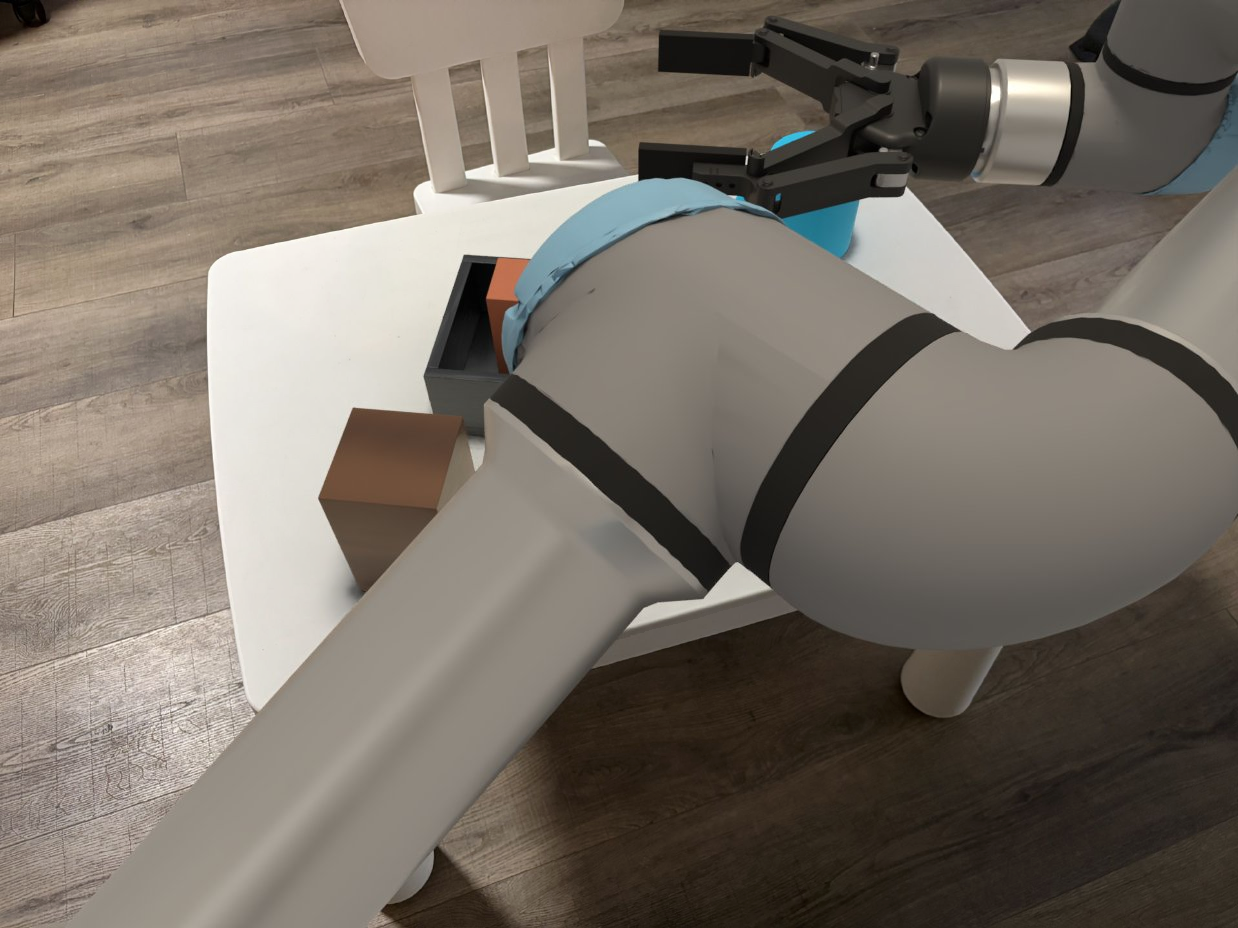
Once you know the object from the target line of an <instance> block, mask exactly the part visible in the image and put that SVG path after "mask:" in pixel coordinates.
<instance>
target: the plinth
mask: <svg viewBox="0 0 1238 928" xmlns="http://www.w3.org/2000/svg"><path fill="white" fill-rule="evenodd" d="M344 426H345V427H344V428H343V432H342V435H341V437H340V439H339V442H338V444H337V446H336V450H335V452H334V455H333V458H332V460H331V463H330V465H329V468H328V470H327V473H326V476H325V478H324V481H323V484H322V486H321V489H320V491H319V494H318V497H317V500H318V502H319V504H320V507H321V509H322V511H323V513H324V515H325V517H326V519H327V522H328V524H329V526H330V529H331V530H332V533H333V535H334V537H335V539H336V541H337V543H338V545H339V548H340V550H341V552H342V554H343V556H344V559H345V561H346V563H347V564H348V567H349V569H350V571H351V574H352V576H353V578H354V580H355V583H356V585H357V587H358V589H359V591H362V592H367V591H368V590H369V589H370V588H371V587H372V586H373V585H374V583H375V582H376V581H377V580H378V579H379V578H380V577H381V576H382V575H383V573H384V572H385V571H386V570H387V569H388V568H389V567H390V566H391V565H392V563H393V562H394V561H395V560H396V559H397V558H398V557H399V556H400V555H401V553H402V552H403V551H404V550H405V549H406V548H407V547H408V546H409V545H410V543H411V542H412V541H413V540H414V539H415V538H416V537H417V536H418V535H419V533H420V532H421V531H422V530H423V529H424V528H425V527H426V526H427V525H428V523H429V522H430V521H431V520H432V519H433V518H434V517H435V516H436V515H437V514H438V512H439V511H440V510H441V509H442V508H443V507H444V506H445V505H446V504H447V502H448V501H449V500H450V499H451V498H452V497H453V496H454V495H455V494H456V492H457V491H458V490H459V489H460V488H461V487H462V486H463V485H464V484H465V482H466V481H467V480H468V479H469V478H470V477H471V476H472V475H473V474H474V472H475V471H476V470H475V464H474V461H473V456H472V451H471V448H470V442H469V438H468V435H467V433H466V429H465V424H464V420H463V417H462V416H452V415H440V414H433V413H427V412H414V411H401V410H389V409H378V408H377V409H376V408H366V407H365V408H364V407H352V408H351V411H350V413H349V415H348V418H347V421H346V424H345V425H344Z"/></svg>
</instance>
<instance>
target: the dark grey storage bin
mask: <svg viewBox="0 0 1238 928" xmlns="http://www.w3.org/2000/svg"><path fill="white" fill-rule="evenodd" d="M498 258H509V259H525V260H531V258H525V257H509V256H493V255H479V254H463V256H462V258H461V262H460V265H459V268H458V271H457V275H456V277H455V280H454V283H453V286H452V289H451V291H450V295H449V298H448V301H447V304H446V307H445V309H444V313H443V315H442V319H441V321H440V325H439V328H438V331H437V333H436V337H435V340H434V343H433V346H432V349H431V352H430V355H429V358H428V362H427V364H426V368H425V369H424V372H423V381H424V385H425V387H426V388H425V389H426V392H427V396H428V399H429V404H430V408H431V411H432V414H440V415H452V416H462V417H463V420H464V424H465V429H466V433H467V436H468V435H469V436H481V437H485V428H484V404H485V403H486V401H487V400H488V399H489V398H490V397H491V396H492V395H493V394H494V393H495V392H496V390H497V389H498V388H499V387H500V386H501V385H502V384H503V383H504V382H505V381H506V379H507V378H508V377H509V376H510V374H503V373H499V372H498V366H497V360H496V354H495V348H494V343H493V337H492V331H491V325H490V319H489V313H488V307H487V301H486V297H487V294H488V290H489V287H490V284H491V280H492V277H493V273H494V270H495V267H496V263H497V260H498Z"/></svg>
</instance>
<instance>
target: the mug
mask: <svg viewBox="0 0 1238 928" xmlns="http://www.w3.org/2000/svg"><path fill="white" fill-rule="evenodd" d="M816 131H817V130H807V131H797V132H794V133H790V134H789V135H786V136H783V137H781V138H780V139H779V140H777V141H776V142H775V143H774V144H773V145H772V147H771V149H770V150H769V151H771V150H773V149H776V148H778V147H780V146H783V145H785V144H787V143H790V142H792V141H794V140H797V139H799V138H801V137H804V136H806V135H808V134H811V133H813V132H816ZM780 196H781V194H777V195H776V200H775V201H777V200H780ZM735 199H736V200H739V201H744V202H746V201H745V200H744V197H741V196H735ZM860 201H861V200H857V201H853V202H849V203H845V204H841V205H837V206H833V207H829V208H825V209H821V210H816V211H812V212H808V213H804V214H800V215H796V216H792V217H788V218H784V219H782V220H783V221H784V222H785V224H786V225H787V227H788V228H790V229H791V230H793V231H795V232H796V233H798V234H800V235H801V236H803V237H805V238H806V239H808V240H810V241H811V242H813V243H815V244H816V245H818V246H820V247H822V248H823V249H825V250H827V251H828V252H830V253H832V254H833V255H835V256H837V257H838V258H840V259H842V257H843V256H844V255H845V254H846V253H847V251H848V250H849V247H850V245H851V241H852V236H853V233H854V232H853V231H854V228H855V223H856V218H857V214H858V210H859V205H860Z"/></svg>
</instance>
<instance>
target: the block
mask: <svg viewBox="0 0 1238 928" xmlns="http://www.w3.org/2000/svg"><path fill="white" fill-rule="evenodd" d="M525 259H526V258H525ZM525 259H509V258H498V260H497V263H496V267H495V270H494V273H493V277H492V280H491V284H490V287H489V290H488V294H487V297H486V301H487V307H488V313H489V319H490V325H491V331H492V337H493V343H494V348H495V354H496V360H497V366H498V372H499V373H503V374H510V373H509V370H508V366H507V364H506V361H505V358H504V355H503V349H502V326H503V320H504V315H505V312H506V311H507V310H508V309H509V308H511V307H513V306H515V305H516V304H517V303H519V300H518V299H517V298H516V296H515V295H514V289H515V286H516V284H517V281H518V279H519V278H520V276H521V274H522V272H523V270H524V269H525V267H526V266H527V264H528V263H529V261H530V260H525Z"/></svg>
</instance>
